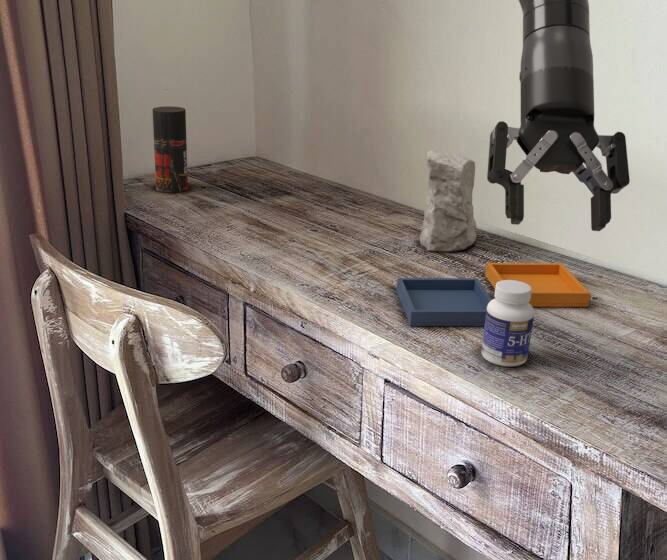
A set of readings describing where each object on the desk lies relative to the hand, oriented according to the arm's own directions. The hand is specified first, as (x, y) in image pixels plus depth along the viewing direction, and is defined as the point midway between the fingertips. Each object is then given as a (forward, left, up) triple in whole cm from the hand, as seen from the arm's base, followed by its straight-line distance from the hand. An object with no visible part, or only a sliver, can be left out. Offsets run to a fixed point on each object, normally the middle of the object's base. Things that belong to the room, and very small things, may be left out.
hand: (558, 225), depth 83 cm
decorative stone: (+45, 0, -18) cm, 49 cm away
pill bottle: (+5, +2, -18) cm, 19 cm away
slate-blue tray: (+19, +6, -18) cm, 27 cm away
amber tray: (+25, -8, -18) cm, 32 cm away
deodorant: (+75, +47, -18) cm, 91 cm away
